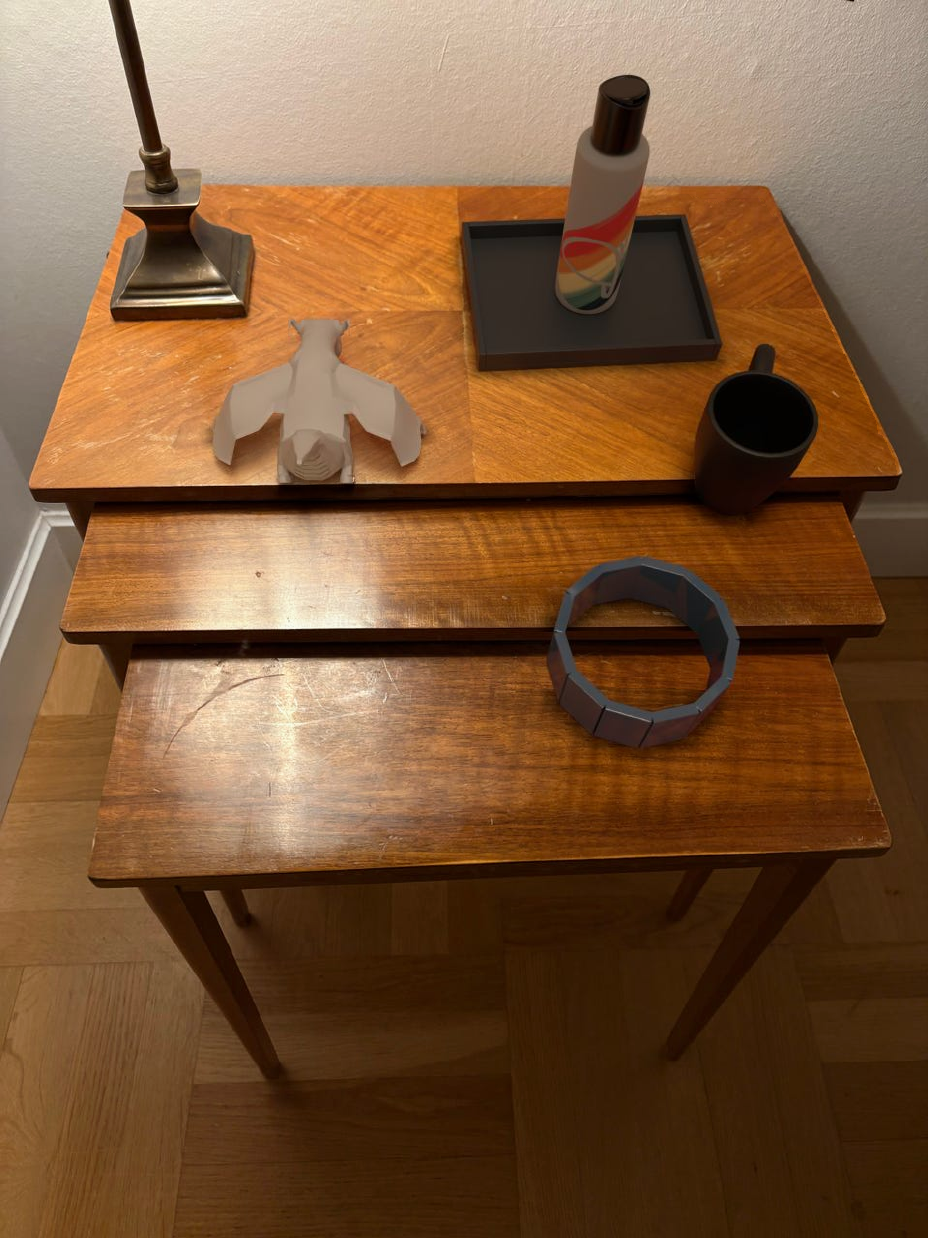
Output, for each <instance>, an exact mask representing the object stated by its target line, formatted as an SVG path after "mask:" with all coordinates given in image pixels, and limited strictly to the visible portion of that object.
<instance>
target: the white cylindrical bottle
mask: <svg viewBox="0 0 928 1238" xmlns="http://www.w3.org/2000/svg"><path fill="white" fill-rule="evenodd" d="M596 95H597V96H596V102H595V107H594V112H593V119H592V125H590V126H589V127H587V128H586V129H584V130H583V131H582V133H580V135H579V136H578V140H577V144H576V149H575V155H574V160H573V166H572V174H571V179H570V186H569V191H568V192H569V193H568V197H567V198H568V199H567V205H566V211H565V216H564V218H565V224H564V230H563V237H562V243H561V249H560V256H559V262H558V269H557V276H556V284H555V291H556V296H557V298H558V300H559V301H560V303H561V304H562V305H563V306H565V307H566V308H567V309H569V310H571V311H573V312H576V313H579V314H597V313H600V312H603V311H605V310H606V309H608V308H609V307H610V306H611V305H612V304H613V303H614V301H615V299H616V296H617V293H618V289H619V285H620V281H621V276H622V272H623V268H624V264H625V259H626V255H627V251H628V246H629V242H630V238H631V233H632V229H633V225H634V221H635V216H637V211H638V207H639V204H640V198H641V194H642V190H643V187H644V181H645V177H646V172H647V168H648V164H649V158H650V153H651V152H650V151H651V149H650V147H651V146H650V144H649V141H648V139H647V138H646V136H645V135H644V134H643V131H644V126H645V121H646V117H647V111H648V108H649V102H650V98H651V88H650V86H649V83H648V81H646V80H645V79H644V78H643V77H641V76H639V75H635V74H620V75H616V76H613V77H610V78H608V79H605V80H604V81H603V82H601V83H600V85H599V86H598V89H597V94H596Z"/></svg>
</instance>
